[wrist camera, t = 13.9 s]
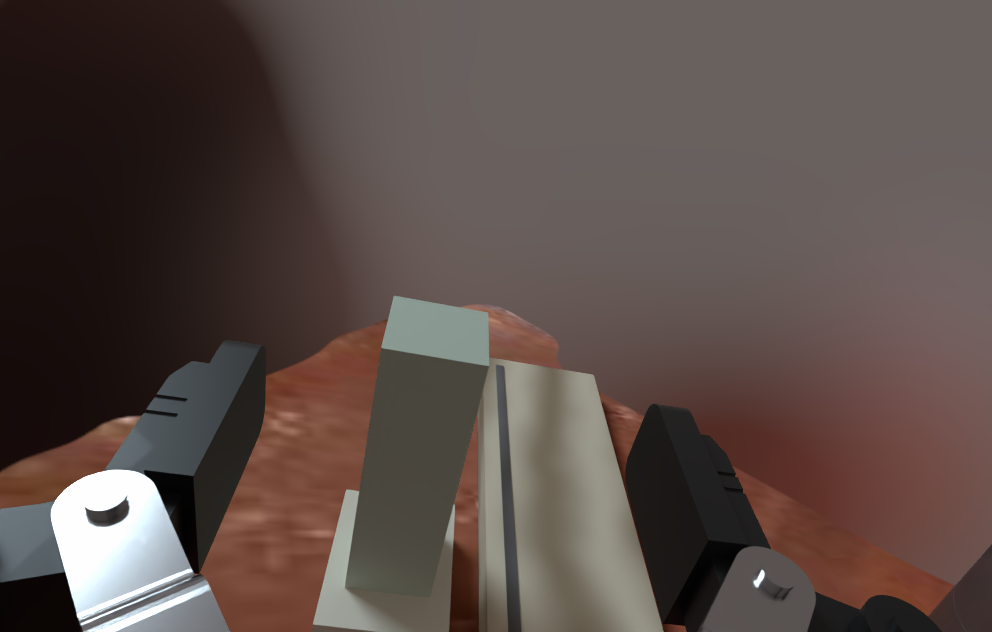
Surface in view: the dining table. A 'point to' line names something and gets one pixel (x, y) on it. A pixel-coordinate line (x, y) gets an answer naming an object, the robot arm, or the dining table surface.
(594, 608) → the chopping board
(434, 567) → the grey pillar on base
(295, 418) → the dining table surface
